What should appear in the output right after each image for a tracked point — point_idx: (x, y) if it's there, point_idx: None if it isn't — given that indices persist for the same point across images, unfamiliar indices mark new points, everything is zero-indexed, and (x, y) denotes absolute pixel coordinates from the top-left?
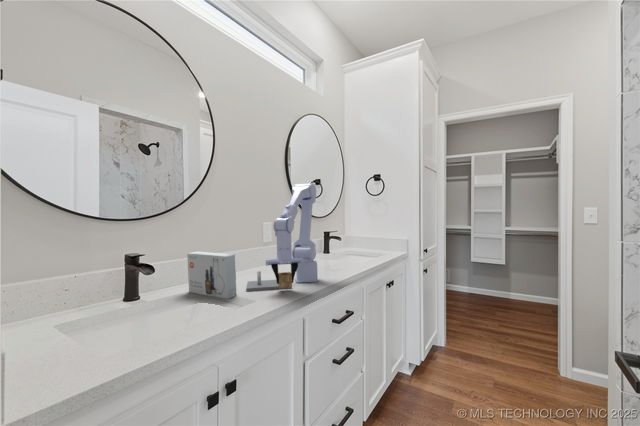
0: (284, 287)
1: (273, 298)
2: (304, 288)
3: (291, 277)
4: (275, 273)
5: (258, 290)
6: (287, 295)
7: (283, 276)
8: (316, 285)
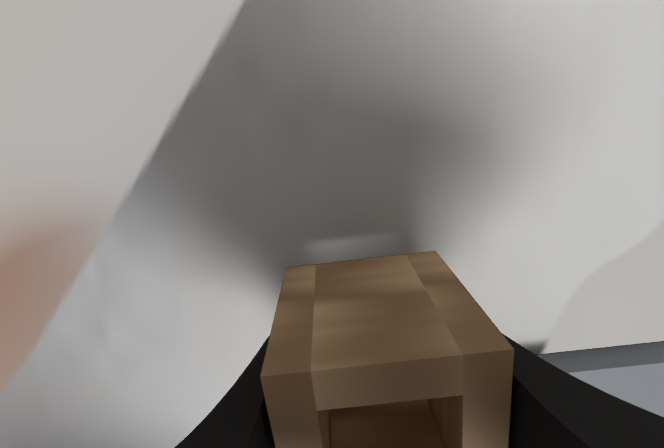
0: (374, 260)
1: (484, 65)
2: (183, 365)
3: (274, 340)
4: (596, 398)
5: (602, 348)
6: (335, 158)
7: (415, 342)
8: (84, 437)
